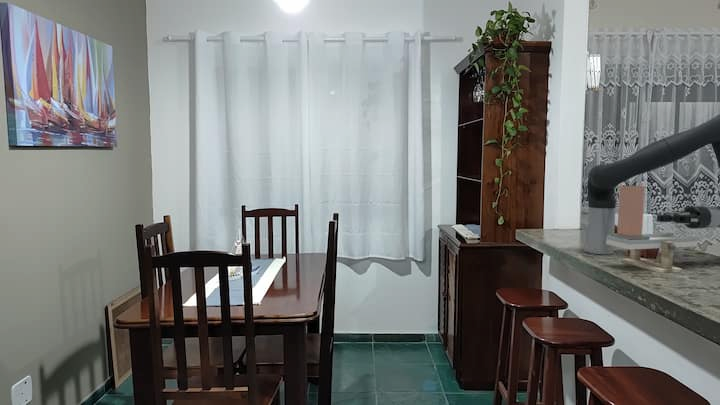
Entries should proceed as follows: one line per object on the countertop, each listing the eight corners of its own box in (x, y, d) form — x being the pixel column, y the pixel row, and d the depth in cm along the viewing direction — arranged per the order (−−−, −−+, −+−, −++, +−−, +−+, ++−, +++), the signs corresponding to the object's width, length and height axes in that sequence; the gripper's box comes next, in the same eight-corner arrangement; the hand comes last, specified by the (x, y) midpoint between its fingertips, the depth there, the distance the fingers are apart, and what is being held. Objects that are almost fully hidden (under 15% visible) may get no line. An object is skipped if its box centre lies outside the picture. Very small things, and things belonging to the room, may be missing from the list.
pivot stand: (639, 260, 173) (641, 233, 172) (682, 271, 156) (684, 242, 155) (620, 261, 171) (621, 234, 170) (661, 273, 154) (663, 243, 153)
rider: (630, 238, 166) (633, 185, 164) (649, 242, 158) (652, 186, 157) (609, 239, 164) (612, 185, 163) (627, 243, 156) (630, 187, 155)
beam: (671, 240, 171) (671, 232, 170) (697, 246, 161) (697, 237, 161) (606, 243, 165) (606, 235, 165) (628, 249, 155) (629, 240, 155)
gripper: (686, 204, 172) (643, 205, 169) (721, 208, 159) (676, 209, 156) (684, 225, 173) (642, 227, 169) (719, 231, 160) (674, 232, 157)
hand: (658, 218), depth 163 cm, fingers closed
